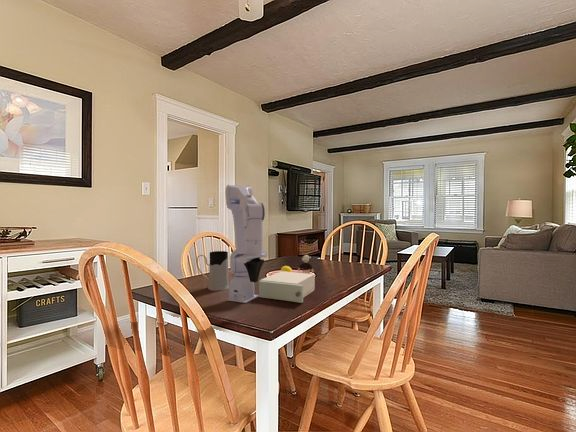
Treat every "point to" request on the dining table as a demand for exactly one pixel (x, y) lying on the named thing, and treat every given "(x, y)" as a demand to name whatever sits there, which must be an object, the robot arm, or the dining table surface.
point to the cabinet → (294, 280)
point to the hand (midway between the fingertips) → (253, 281)
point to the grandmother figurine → (306, 265)
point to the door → (281, 291)
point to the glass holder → (217, 270)
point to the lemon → (286, 269)
